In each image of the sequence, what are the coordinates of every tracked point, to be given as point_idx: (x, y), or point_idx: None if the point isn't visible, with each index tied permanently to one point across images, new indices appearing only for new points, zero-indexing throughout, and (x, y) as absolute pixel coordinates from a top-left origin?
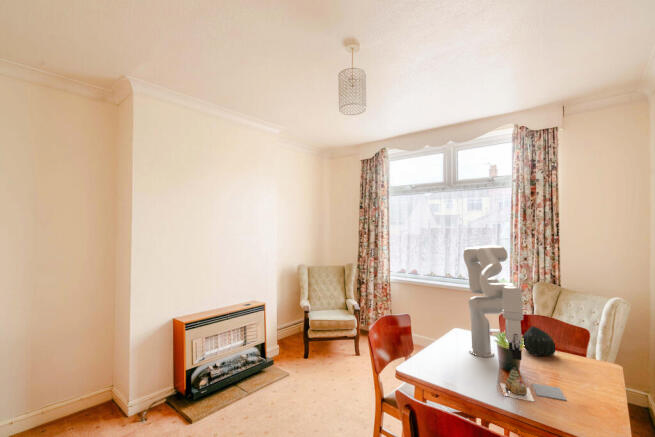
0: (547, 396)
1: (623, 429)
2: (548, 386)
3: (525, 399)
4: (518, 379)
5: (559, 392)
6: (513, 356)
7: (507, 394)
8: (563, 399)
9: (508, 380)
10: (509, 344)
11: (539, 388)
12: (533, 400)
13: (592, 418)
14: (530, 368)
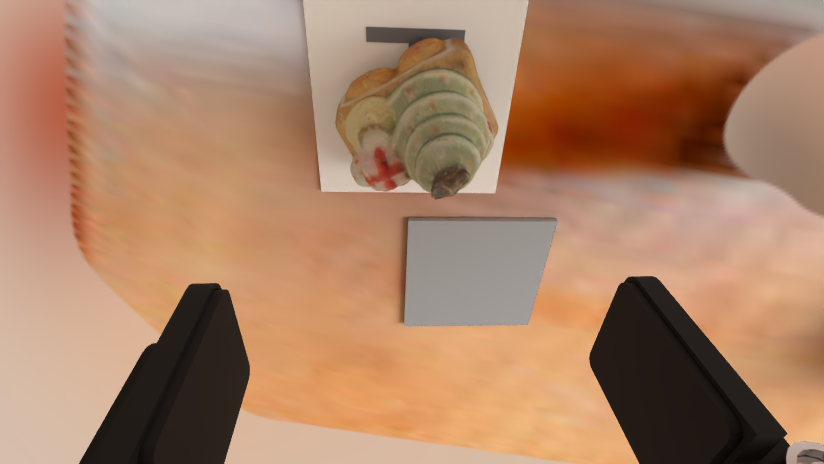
0: (408, 263)
1: (259, 415)
2: (531, 287)
3: (319, 145)
4: (374, 167)
5: (473, 316)
6: (176, 324)
7: (339, 29)
8: (405, 316)
9: (418, 74)
10: (688, 371)
11: (495, 245)
12: (330, 188)
13: (286, 365)
14: (774, 245)
